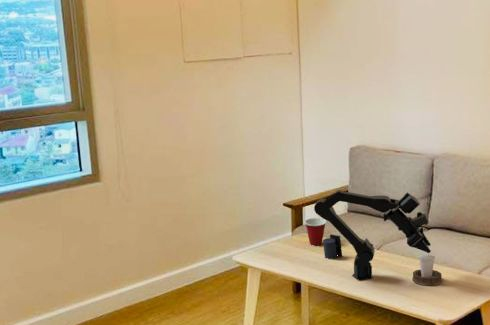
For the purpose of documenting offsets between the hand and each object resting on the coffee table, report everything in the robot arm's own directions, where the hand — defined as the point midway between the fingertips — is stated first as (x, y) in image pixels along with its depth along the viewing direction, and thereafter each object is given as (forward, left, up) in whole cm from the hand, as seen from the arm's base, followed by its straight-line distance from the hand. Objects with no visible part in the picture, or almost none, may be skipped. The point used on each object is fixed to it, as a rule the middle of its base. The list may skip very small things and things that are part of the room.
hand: (429, 248), depth 253 cm
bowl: (-1, +1, -13) cm, 14 cm away
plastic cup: (-23, +65, -14) cm, 70 cm away
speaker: (-24, +43, -14) cm, 51 cm away
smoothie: (-1, +1, -13) cm, 13 cm away
